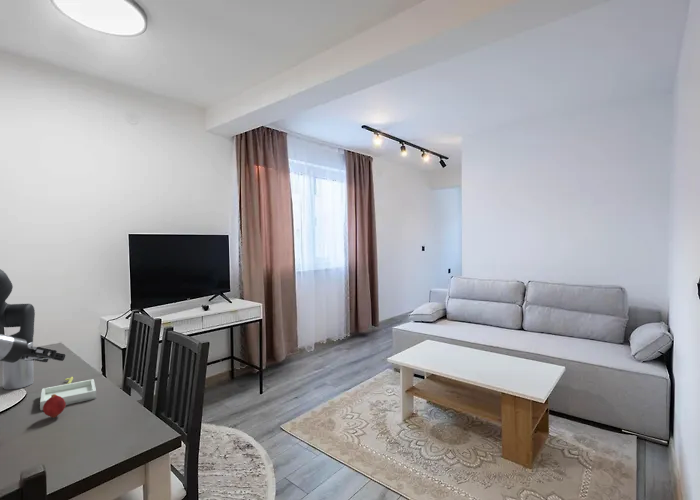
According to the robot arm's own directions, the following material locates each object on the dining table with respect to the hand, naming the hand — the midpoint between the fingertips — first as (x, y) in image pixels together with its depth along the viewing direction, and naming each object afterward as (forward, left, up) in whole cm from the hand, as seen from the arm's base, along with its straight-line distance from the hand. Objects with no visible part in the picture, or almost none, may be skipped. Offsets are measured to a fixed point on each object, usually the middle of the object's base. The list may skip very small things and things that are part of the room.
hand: (55, 358), depth 126 cm
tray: (-9, +4, -18) cm, 21 cm away
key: (-23, +3, -19) cm, 30 cm away
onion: (+7, 0, -18) cm, 19 cm away
